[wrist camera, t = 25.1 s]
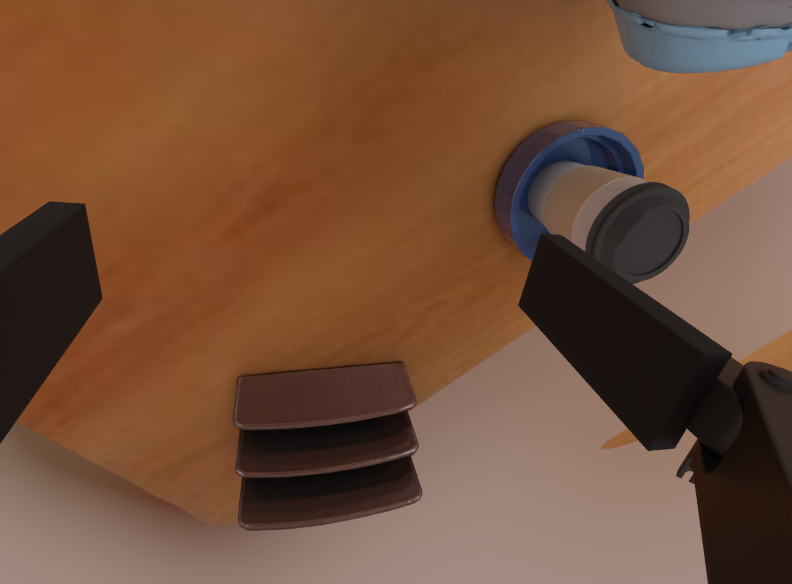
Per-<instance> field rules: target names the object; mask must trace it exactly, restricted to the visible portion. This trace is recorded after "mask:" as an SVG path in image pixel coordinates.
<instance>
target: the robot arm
mask: <svg viewBox="0 0 792 584" xmlns="http://www.w3.org/2000/svg"><path fill="white" fill-rule="evenodd" d="M607 1H608V3H609V5H610V7H611V8H612V9H613V10H614V15H615V19H616V23H617V27H618V31H619V35H620V39H621V42H622V45H623V47H624V49H625V51H626V52H627V54H628V55H629V56H630V57H631V58H633V59H634V60H636V61H638V62H640V63H641V64H642V65H643V66H645V67H648V68H651V69H654V70H658V71H664V72H671V73H707V72H719V71H726V70H734V69H740V68H745V67H750V66H754V65H759V64H763V63H766V62H770V61H773V60H777V59H780V58H782V57H783V56H784V54H785V53H786V51H792V0H607ZM102 299H103V298H102V293H101V287H100V282H99V277H98V271H97V266H96V261H95V255H94V250H93V245H92V239H91V234H90V228H89V223H88V218H87V212H86V207H85V204H80V203H65V202H48V203H47V204H45V205H44V206H42V207H41V208H39V209H38V210H36V211H35V212H33V213H32V214H31V215H29V216H28V217H26V218H25V219H23V220H22V221H20V222H19V223H17V224H16V225H14V226H13V227H11V228H10V229H9V230H7V231H6V232H4V233H3V234H1V235H0V443H1V442H2V440H3V439H4V438H5V436H6V435H7V433H8V432H9V431H10V429H11V428H12V426H13V425H14V423H15V422H16V421H17V419H18V418H19V416H20V415H21V414H22V412H23V411H24V409H25V408H26V406H27V405H28V404H29V402H30V401H31V399H32V398H33V397H34V395H35V394H36V392H37V391H38V389H39V388H40V387H41V385H42V384H43V382H44V381H45V379H46V378H47V377H48V375H49V374H50V372H51V371H52V370H53V368H54V367H55V365H56V364H57V362H58V361H59V360H60V358H61V357H62V355H63V354H64V352H65V351H66V350H67V348H68V347H69V345H70V344H71V343H72V341H73V340H74V338H75V337H76V335H77V334H78V333H79V331H80V330H81V328H82V327H83V325H84V324H85V323H86V321H87V320H88V318H89V317H90V316H91V314H92V313H93V311H94V310H95V308H96V307H97V306H98V304H99V303H100V301H101V300H102ZM518 306H519V307H520V308H521V309H522V310H523V311H524V312H525V313H526V315H527V316H528V317H529V318H530V319H531V320H532V321H533V322H534V324H535V325H536V326H537V327H538V328H539V329H540V330H541V331H542V333H543V334H544V335H545V336H546V337H547V338H548V339H549V340H550V341H551V343H552V344H553V345H554V346H555V347H556V348H557V349H558V350H559V352H560V353H561V354H562V355H563V356H564V357H565V358H566V359H567V361H568V362H569V363H570V364H571V365H572V366H573V367H574V368H575V369H576V371H577V372H578V373H579V374H580V375H581V376H582V377H583V378H584V380H585V381H586V382H587V383H588V384H589V385H590V386H591V387H592V389H593V390H594V391H595V392H596V393H597V394H598V395H599V396H600V398H601V399H602V400H603V401H604V402H605V403H606V404H607V405H608V407H609V408H610V409H611V410H612V411H613V412H614V413H615V414H616V415H617V417H618V418H619V419H620V420H621V421H622V422H623V423H624V424H625V426H626V427H627V428H628V429H629V430H630V431H631V432H632V433H633V435H634V436H635V437H636V438H637V439H638V440H639V441H640V442H641V443H642V445H643V446H644V447H645V448H646V449H647V450H648V451H652V450H663V449H674V448H675V447H676V445H677V444H678V442H679V440H680V439H681V437H682V436H683V434H684V432H685V430H686V429H688V430H689V431H690V432H691V433H692V434H694V435H695V436H696V437H697V438H698V439H697V441H696V442H695V444H694V445H693V447H692V449H691V450H690V452H689V453H688V455H687V456H686V458H685V460H684V461H683V463H682V464H681V466H680V467H679V469H678V471H677V475H676V476H677V477H679V478H682V476H683V475H684V474H685V472H687V471H693V476H692V477H691V479H690V480H689V482H691V483H693V484H695V489H696V497H697V504H698V512H699V519H700V527H701V534H702V542H703V549H704V557H705V564H706V571H707V579H708V584H792V372H790V371H788V370H786V369H783V368H780V367H777V366H774V365H770V364H767V363H763V362H753V361H751V362H748V363H746V364H745V365H744V366H743V365H742V364H740V363H739V362H737V361H736V360H734V359H733V358H732V357H731V355H732V353H731V352H729V351H727V350H726V349H725V348H723V347H722V346H720V345H719V344H718V343H716V342H715V341H713V340H712V339H710V338H709V337H707V336H706V335H705V334H703V333H702V332H700V331H699V330H697V329H696V328H695V327H693V326H692V325H690V324H689V323H687V322H686V321H685V320H683V319H682V318H680V317H679V316H677V315H676V314H674V313H673V312H672V311H670V310H669V309H667V308H666V307H664V306H663V305H661V304H660V303H659V302H657V301H656V300H654V299H653V298H651V297H650V296H648V295H647V294H646V293H644V292H643V291H641V290H640V289H638V288H637V287H636V286H634V285H633V284H631V283H630V282H628V281H627V280H625V279H624V278H623V277H621V276H620V275H618V274H617V273H615V272H614V271H613V270H611V269H610V268H608V267H607V266H605V265H604V264H602V263H601V262H600V261H598V260H597V259H595V258H594V257H592V256H591V255H589V254H588V253H587V252H585V251H584V250H582V249H581V248H579V247H578V246H577V245H575V244H574V243H572V242H571V241H569V240H568V239H566V238H565V237H564V236H562V235H557V234H541V235H540V238H539V241H538V245H537V248H536V251H535V254H534V257H533V260H532V264H531V267H530V270H529V273H528V276H527V279H526V283H525V286H524V289H523V292H522V295H521V298H520V302H519V305H518Z"/></svg>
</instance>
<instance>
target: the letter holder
mask: <svg viewBox="0 0 792 584" xmlns="http://www.w3.org/2000/svg"><path fill="white" fill-rule="evenodd" d="M415 405H416V397H415V394H414V391H413V389H412V386H411V384H410V381H409V378H408V375H407V372H406V369H405V366H404V364H403V362H399V363H389V364H378V365H366V366H355V367H344V368H332V369H321V370H309V371H300V372H288V373H277V374H267V375H256V376H246V377H238V379H237V389H236V396H235V405H234V413H233V425H234V426H235V427H237V428H239V429H240V430H239V439H238V449H237V459H236V467H235V470H236V473H237V475H238V476H241V477H242V482H241V493H240V501H239V510H238V522H239V525H240V526H241V527H242V528H244V529H245V530H251V531H258V530H279V529H294V528H301V527H311V526H318V525H324V524H330V523H335V522H341V521H346V520H351V519H356V518H360V517H366V516H370V515H374V514H378V513H382V512H387V511H391V510H394V509H397V508H401V507H404V506H407V505H411V504H413V503H416V502H417V501H419V500H420V499H421V496H422V489H421V486H420V483H419V480H418V477H417V474H416V471H415V468H414V465H413V462H412V458H411V455H413V454H414V453H415V452H416V451H417V449H418V447H419V444H418V440H417V438H416V435H415V432H414V429H413V426H412V423H411V420H410V417H409V414H408V411H407V410H410V409H412V408H413V407H415Z"/></svg>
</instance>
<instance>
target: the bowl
mask: <svg viewBox="0 0 792 584" xmlns="http://www.w3.org/2000/svg"><path fill="white" fill-rule="evenodd" d="M562 160H567V161H572V162H576V163H579V164H583V165H587V166H597V167H601V168H604V169H608V170H612V171H616V172H619V173H623V174H627V175H631V176H634V177H638V178H641V179H644V167H643V164H642V161H641V158H640V156H639V153H638V150H637V148H636V147H635V146H634V145H633V144H632V143H631V142H630V140H629V139H628V138H627V137H626V136H625V135H624V134H622V133H620V132H617V131H615V130H612V129H609V128H607V127H604V126H600V125H596V124H592V123H589V122H585V121H561V122H558V123H556V124H553V125H550V126H548V127H545V128H542V129H540V130H539V131H537V132H536V133H535V134H533V135H532V136H531V137H530V138H528V139H527V140H526V141H524V142H523V143H522V144H520V146H519V147H518V148H517V150H516V151H515V152H514V153H513V155H512V156H511V157H510V159H509V160H508V161H507V163H506V164H505V167H504V169H503V171H502V174H501V176H500V178H499V181H498V183H497V188H496V196H495V204H494V206H495V207H494V208H495V213H496V218H497V224H498V227H499V228H500V230H501V232H502V233H503V235H504V236H505V238H506V240H507V241H508V242H509V243H510V244H512V245H513V246H514V247H515V248H516V249H517V250H518V251H520V252H521V253H522V254H523V255H524V256H526V257H527V258H529V259H530V260H531V261H532V260H533V257H534V254H535V251H536V248H537V245H538V241H539V238H540V235H541V234H551V233H550V232H549V231H548V230H547V228H546V227H545V226H544V225H543V224H542V223H540V222H539V221H538V220H537V219H536V218H535V217H534V216H533V215H532V214H531V212H530V210H529V207H528V193H529V189H530V186H531V184H532V182H533V180H534V179H535V177H536V176H537V175H538V174H539V173H540V171H542V170H543V169H544V168H545V167H547V166H548V165H550V164H552V163H554V162H557V161H562Z"/></svg>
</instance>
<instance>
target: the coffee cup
mask: <svg viewBox="0 0 792 584" xmlns="http://www.w3.org/2000/svg"><path fill="white" fill-rule="evenodd" d="M528 207H529V210H530V212H531V214H532V215H533V216H534V217H535V218H536V219H537V220H538V221H539V222H540V223H542V224H543V225H544V226H545V227H546V228H547V230H548V231H549V232H550V233H551V234H557V235H562V236H564V237H565V238H566V239H568V240H569V241H571V242H572V243H574V244H575V245H577V246H578V247H579V248H581V249H582V250H584V251H585V252H587V253H588V254H589V255H591V256H592V257H594V258H595V259H597V260H598V261H600V262H601V263H602V264H604V265H605V266H607V267H608V268H610V269H611V270H613V271H614V272H615V273H617V274H618V275H620V276H621V277H623V278H624V279H625V280H627V281H628V282H630V283H631V284H635V283H638V282H641V281H644V280H647V279H650V278H652V277H654V276H656V275H658V274H660V273H661V272H663V271H664V270H665V269H666V268H668V267H669V266H670V265H671V264H672V263H673V261H674V260H675V259H676V258H677V257H678V255H679V254H680V252H681V251H682V249H683V247H684V245H685V243H686V240H687V237H688V233H689V217H690V215H689V207H688V204H687V201H686V199H685V198H684V196H683V195H682V194H681V193H680V192H679V191H677V190H675V189H673V188H671V187H669V186H667V185H665V184H662V183H657V182H647V181H646V180H644V179H641V178H638V177H634V176H631V175H627V174H623V173H619V172H616V171H612V170H608V169H604V168H601V167H597V166H587V165H583V164H579V163H576V162H572V161H567V160H562V161H557V162H554V163H552V164H550V165H548V166H547V167H545V168H544V169H543V170H542V171H540V173H539V174H538V175H537V176H536V177H535V179H534V180H533V182H532V184H531V186H530V189H529V193H528Z"/></svg>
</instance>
